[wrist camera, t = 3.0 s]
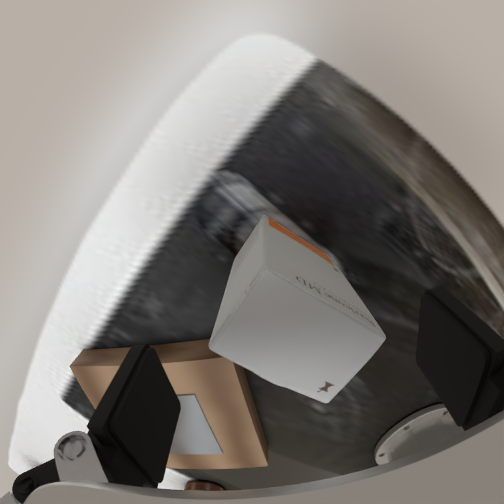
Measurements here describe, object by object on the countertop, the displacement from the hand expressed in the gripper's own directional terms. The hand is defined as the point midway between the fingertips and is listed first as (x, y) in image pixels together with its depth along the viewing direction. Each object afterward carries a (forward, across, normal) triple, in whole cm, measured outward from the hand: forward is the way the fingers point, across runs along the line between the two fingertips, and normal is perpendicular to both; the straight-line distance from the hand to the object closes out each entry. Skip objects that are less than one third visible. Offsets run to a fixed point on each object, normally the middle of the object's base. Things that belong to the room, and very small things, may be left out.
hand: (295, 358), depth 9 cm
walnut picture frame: (+13, +12, +15) cm, 23 cm away
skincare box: (+13, 0, +1) cm, 13 cm away
